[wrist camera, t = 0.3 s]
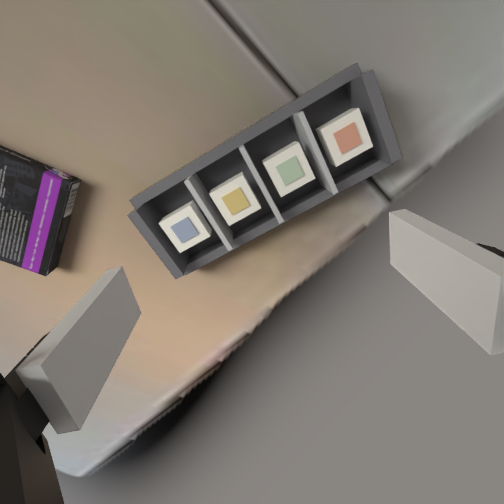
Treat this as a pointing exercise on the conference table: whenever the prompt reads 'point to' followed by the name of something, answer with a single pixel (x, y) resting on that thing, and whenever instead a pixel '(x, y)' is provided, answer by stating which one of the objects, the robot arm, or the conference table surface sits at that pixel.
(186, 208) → the key
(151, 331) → the conference table surface
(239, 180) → the key
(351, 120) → the key
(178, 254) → the keypad
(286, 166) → the key
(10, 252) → the box
